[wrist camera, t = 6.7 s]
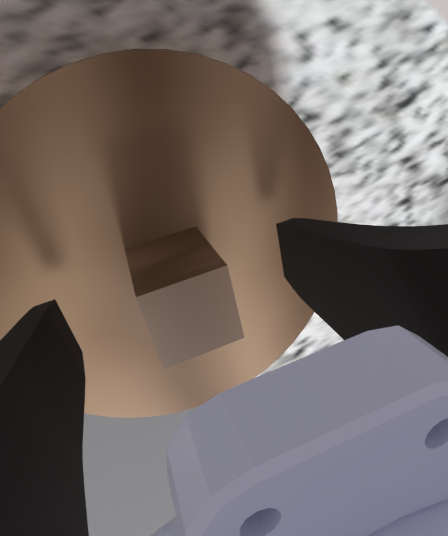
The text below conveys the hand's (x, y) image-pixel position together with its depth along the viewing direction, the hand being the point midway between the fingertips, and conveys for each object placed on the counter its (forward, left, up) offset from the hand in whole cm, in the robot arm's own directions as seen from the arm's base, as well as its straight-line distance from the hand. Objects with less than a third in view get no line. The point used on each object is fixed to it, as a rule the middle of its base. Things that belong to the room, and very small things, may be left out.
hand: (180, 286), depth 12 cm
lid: (0, 0, -3) cm, 3 cm away
